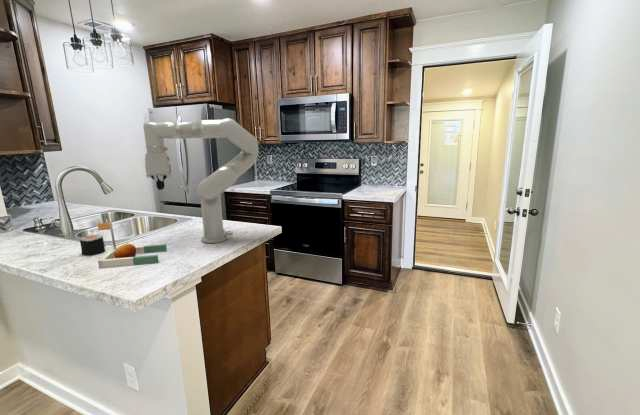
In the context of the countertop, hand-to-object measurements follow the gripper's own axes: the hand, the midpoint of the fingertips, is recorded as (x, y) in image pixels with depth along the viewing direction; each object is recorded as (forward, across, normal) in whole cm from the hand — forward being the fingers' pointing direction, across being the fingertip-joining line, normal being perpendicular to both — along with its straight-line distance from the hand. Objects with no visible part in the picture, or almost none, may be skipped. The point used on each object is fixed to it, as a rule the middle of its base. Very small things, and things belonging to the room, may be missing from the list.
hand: (160, 189), depth 143 cm
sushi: (+27, +30, +5) cm, 41 cm away
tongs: (+27, +11, +18) cm, 34 cm away
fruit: (+27, +12, +18) cm, 35 cm away
